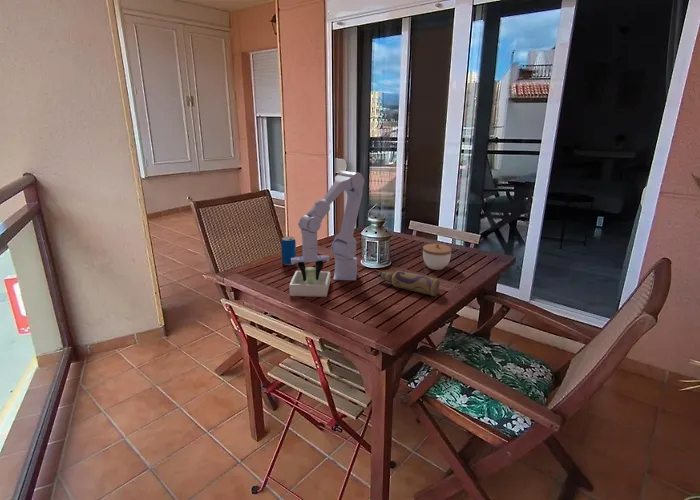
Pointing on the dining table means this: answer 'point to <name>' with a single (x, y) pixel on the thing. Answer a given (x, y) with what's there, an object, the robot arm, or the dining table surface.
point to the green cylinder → (310, 275)
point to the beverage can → (288, 249)
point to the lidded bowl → (436, 255)
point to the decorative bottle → (412, 282)
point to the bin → (310, 285)
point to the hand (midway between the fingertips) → (310, 279)
